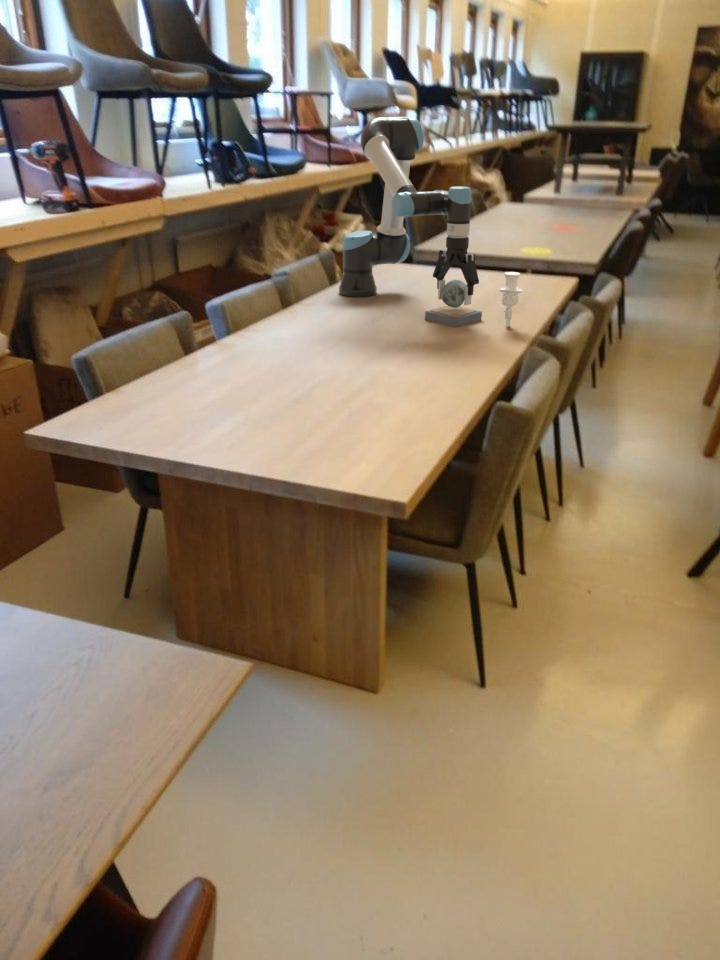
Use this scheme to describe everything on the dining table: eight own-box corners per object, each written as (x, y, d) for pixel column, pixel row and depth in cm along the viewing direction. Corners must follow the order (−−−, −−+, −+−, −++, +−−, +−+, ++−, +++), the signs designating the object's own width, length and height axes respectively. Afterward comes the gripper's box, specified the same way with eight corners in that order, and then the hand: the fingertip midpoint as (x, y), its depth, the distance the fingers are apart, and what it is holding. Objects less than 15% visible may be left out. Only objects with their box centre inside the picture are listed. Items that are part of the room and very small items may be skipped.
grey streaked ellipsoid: (469, 301, 251) (458, 273, 250) (443, 312, 254) (432, 285, 253) (475, 302, 264) (465, 275, 263) (451, 313, 267) (440, 287, 266)
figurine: (498, 322, 260) (503, 269, 252) (520, 324, 257) (526, 271, 249) (493, 330, 251) (498, 275, 243) (516, 332, 249) (521, 277, 241)
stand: (424, 319, 263) (425, 310, 261) (450, 313, 272) (451, 303, 270) (455, 327, 254) (456, 317, 252) (481, 320, 263) (481, 310, 261)
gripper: (424, 233, 255) (421, 297, 265) (478, 241, 240) (474, 309, 250) (438, 231, 260) (435, 294, 270) (493, 238, 245) (488, 305, 254)
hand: (454, 301), depth 260 cm, fingers closed on grey streaked ellipsoid, 11 cm apart
